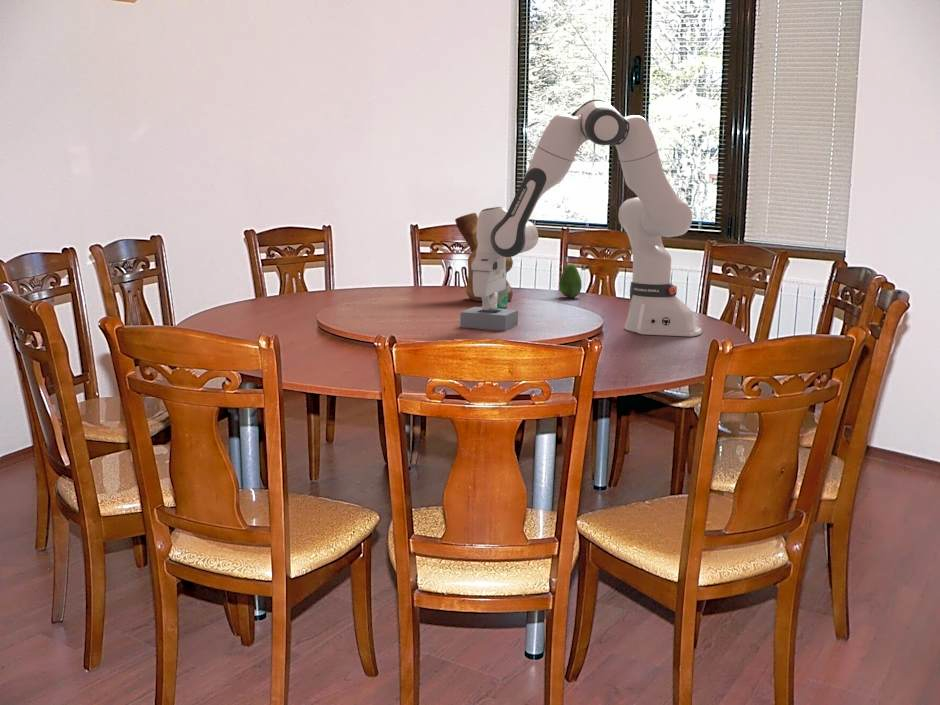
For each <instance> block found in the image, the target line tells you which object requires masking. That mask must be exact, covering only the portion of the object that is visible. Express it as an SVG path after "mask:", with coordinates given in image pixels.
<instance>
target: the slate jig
mask: <svg viewBox="0 0 940 705" xmlns="http://www.w3.org/2000/svg"><path fill="white" fill-rule="evenodd" d="M459 316H460V322H459V323H460V324H459V326H460V328H466V329H467V328H468V329H476V330H477V329H480V330H491V331H503V332H506V331H508V330H510V329H512V328H514V327H516V326H518V321H519V310H518V309H508V308H507V309H498V308H497V313H487V312H482V306H473V307H470V308H468V309H466V310H462V311H460V315H459Z"/></svg>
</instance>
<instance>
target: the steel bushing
mask: <svg viewBox="0 0 940 705" xmlns="http://www.w3.org/2000/svg"><path fill="white" fill-rule="evenodd" d="M481 302H482V301H481ZM489 303H490V309H489V310H484V309H483V302H482V306H481V307H482V312H487V313H497V292H496V293H494V294H491V295H490V299H489Z"/></svg>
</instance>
